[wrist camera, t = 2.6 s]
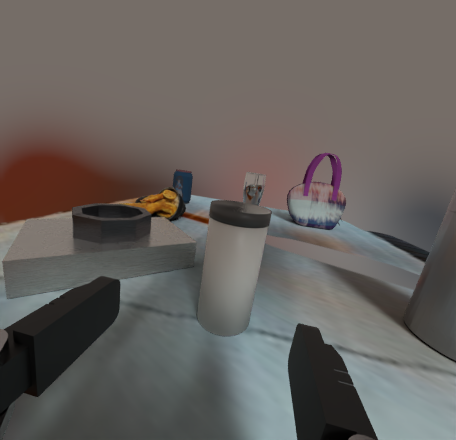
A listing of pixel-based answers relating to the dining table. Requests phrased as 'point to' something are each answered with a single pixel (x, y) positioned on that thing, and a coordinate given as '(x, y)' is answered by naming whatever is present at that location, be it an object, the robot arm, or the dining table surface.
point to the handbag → (318, 198)
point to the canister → (231, 265)
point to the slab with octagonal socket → (93, 249)
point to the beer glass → (253, 188)
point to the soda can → (183, 184)
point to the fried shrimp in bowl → (162, 204)
